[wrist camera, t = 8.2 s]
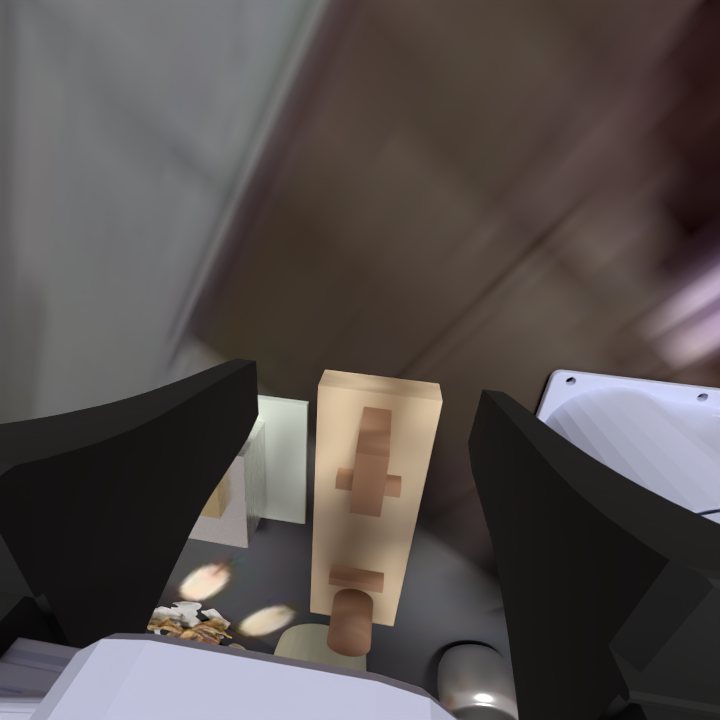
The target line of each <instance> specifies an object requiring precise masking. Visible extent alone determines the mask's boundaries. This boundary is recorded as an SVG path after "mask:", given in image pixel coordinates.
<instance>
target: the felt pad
mask: <svg viewBox="0 0 720 720" xmlns="http://www.w3.org/2000/svg"><path fill="white" fill-rule="evenodd" d="M308 407H309V402H307V401H299V400H292V399H284V398H277V397H269V396H261V395H258V409H259V415H258V417H257V419H256V420H259V421H265V471H266V508H265V510H264V513H263V515H262V518H268V519H275V520H281V521H288V522H294V523H301V524H305V521H306V496H307V451H308Z"/></svg>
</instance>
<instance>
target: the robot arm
mask: <svg viewBox="0 0 720 720" xmlns="http://www.w3.org/2000/svg"><path fill="white" fill-rule="evenodd" d="M570 377H573V379H572V380H571V381H570V382H566V380H567V379H568V378H570ZM700 394H702V395H701V396H700V397H698V396H699V395H700ZM697 397H698V398H697ZM258 415H259V409H258V390H257V371H256V361H251V360H243V359H235V360H231V361H228V362H225V363H223V364H220V365H217V366H215V367H212V368H210V369H207V370H205V371H202V372H200V373H197V374H195V375H193V376H190V377H188V378H185V379H182V380H180V381H177V382H174V383H172V384H169V385H166V386H163V387H161V388H158V389H155V390H152V391H149V392H146V393H143V394H140V395H137V396H134V397H130V398H127V399H123V400H120V401H116V402H113V403H109V404H105V405H101V406H96V407H92V408H87V409H83V410H78V411H74V412H69V413H65V414H60V415H55V416H49V417H43V418H38V419H32V420H25V421H19V422H12V423H5V424H0V720H465V719H460V718H456V717H455V715H454V714H453V713H452V712H451V711H450V710H449V709H448V708H447V707H445V706H444V705H443V704H441V703H440V702H439V701H438V700H436V699H435V698H434V697H433V696H431V695H430V694H429V693H428V692H426V691H425V690H424V689H423V688H420V687H417V686H414V685H411V684H408V683H405V682H402V681H399V680H396V679H392V678H389V677H386V676H383V675H380V674H377V673H372V672H366V671H361V670H355V669H349V668H344V667H338V666H333V665H327V664H321V663H316V662H310V661H305V660H299V659H293V658H288V657H282V656H277V655H271V654H265V653H260V652H254V651H249V650H243V649H237V648H232V647H226V646H221V645H215V644H209V643H204V642H198V641H193V640H187V639H181V638H176V637H170V636H165V635H159V634H145V631H146V629H147V626H148V624H149V622H150V619H151V617H152V615H153V612H154V610H155V608H156V606H157V603H158V601H159V599H160V597H161V595H162V592H163V590H164V588H165V586H166V583H167V581H168V579H169V577H170V575H171V572H172V570H173V568H174V566H175V564H176V562H177V560H178V558H179V556H180V554H181V552H182V550H183V547H184V545H185V543H186V541H187V539H188V537H189V535H190V533H191V531H192V529H193V527H194V526H195V524H196V522H197V520H198V518H199V516H200V514H201V512H202V510H203V508H204V506H205V505H206V503H207V501H208V500H209V498H210V496H211V495H212V493H213V492H214V490H215V489H216V487H217V486H218V484H219V482H220V481H221V479H222V478H223V476H224V475H225V473H226V472H227V470H228V469H229V467H230V466H231V464H232V463H233V461H234V460H235V458H236V456H237V455H238V453H239V452H240V450H241V449H242V447H243V445H244V444H245V442H246V441H247V439H248V437H249V435H250V433H251V431H252V428H253V426H254V424H255V422H256V419H257V417H258ZM468 445H469V453H470V461H471V467H472V473H473V476H474V480H475V484H476V487H477V491H478V494H479V498H480V501H481V505H482V508H483V512H484V515H485V519H486V522H487V526H488V529H489V533H490V536H491V540H492V544H493V548H494V552H495V557H496V563H497V568H498V574H499V580H500V585H501V591H502V598H503V604H504V611H505V617H506V623H507V630H508V637H509V645H510V652H511V660H512V667H513V675H514V682H515V692H516V701H517V710H518V719H519V720H720V389H719V388H711V387H703V386H694V385H686V384H678V383H669V382H661V381H653V380H644V379H636V378H628V377H619V376H611V375H603V374H594V373H586V372H578V371H569V370H556V371H554V372H553V373H552V374H551V376H550V378H549V381H548V383H547V386H546V389H545V392H544V394H543V397H542V400H541V403H540V405H539V408H538V411H537V414H536V416H535V415H533V414H532V413H531V412H530V411H528V410H527V409H526V408H525V407H523V406H522V405H521V404H519V403H518V402H517V401H515V400H514V399H513V398H511V397H510V396H509V395H507V394H505V393H504V392H499V391H491V390H482V394H481V398H480V401H479V405H478V409H477V412H476V416H475V420H474V423H473V427H472V431H471V434H470V438H469V441H468Z"/></svg>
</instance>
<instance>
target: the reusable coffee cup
mask: <svg viewBox="0 0 720 720" xmlns="http://www.w3.org/2000/svg"><path fill="white" fill-rule="evenodd" d="M328 630H329V626H327V625H321V624H302V625H297V626H294V627H291V628H289V629H287V630H286V631H285V632H284V633H283V634H282V636H281V637H280V640H279V642H278V645H277V647H276V650H275V653H274V655H277V656H282V657H288V658H293V659H299V660H305V661H310V662H316V663H321V664H327V665H333V666H338V667H344V668H349V669H355V670H361V671H366V654H365V655H363V656H359V657H349V656H344V655H340V654H338V653H336V652H334V651H333V650H331V649H330V648H329V646H328V645H327V636H328Z"/></svg>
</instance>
